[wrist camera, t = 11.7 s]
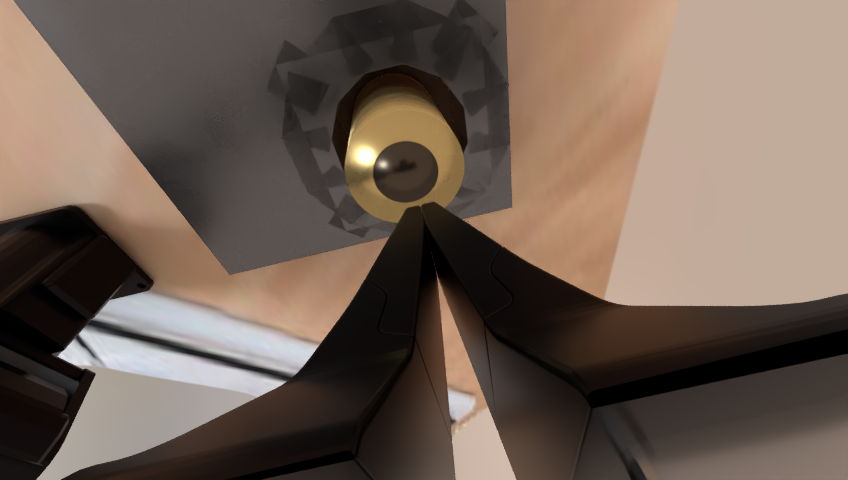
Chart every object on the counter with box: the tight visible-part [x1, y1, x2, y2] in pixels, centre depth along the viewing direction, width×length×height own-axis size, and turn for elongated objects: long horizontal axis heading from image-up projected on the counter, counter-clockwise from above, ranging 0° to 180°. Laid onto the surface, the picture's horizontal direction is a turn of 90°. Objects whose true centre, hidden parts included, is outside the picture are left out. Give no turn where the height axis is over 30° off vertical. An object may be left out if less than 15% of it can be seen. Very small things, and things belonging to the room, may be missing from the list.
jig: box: [14, 0, 512, 275], centre depth 14 cm, size 16×16×4 cm
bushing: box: [345, 73, 465, 223], centre depth 15 cm, size 4×4×7 cm
